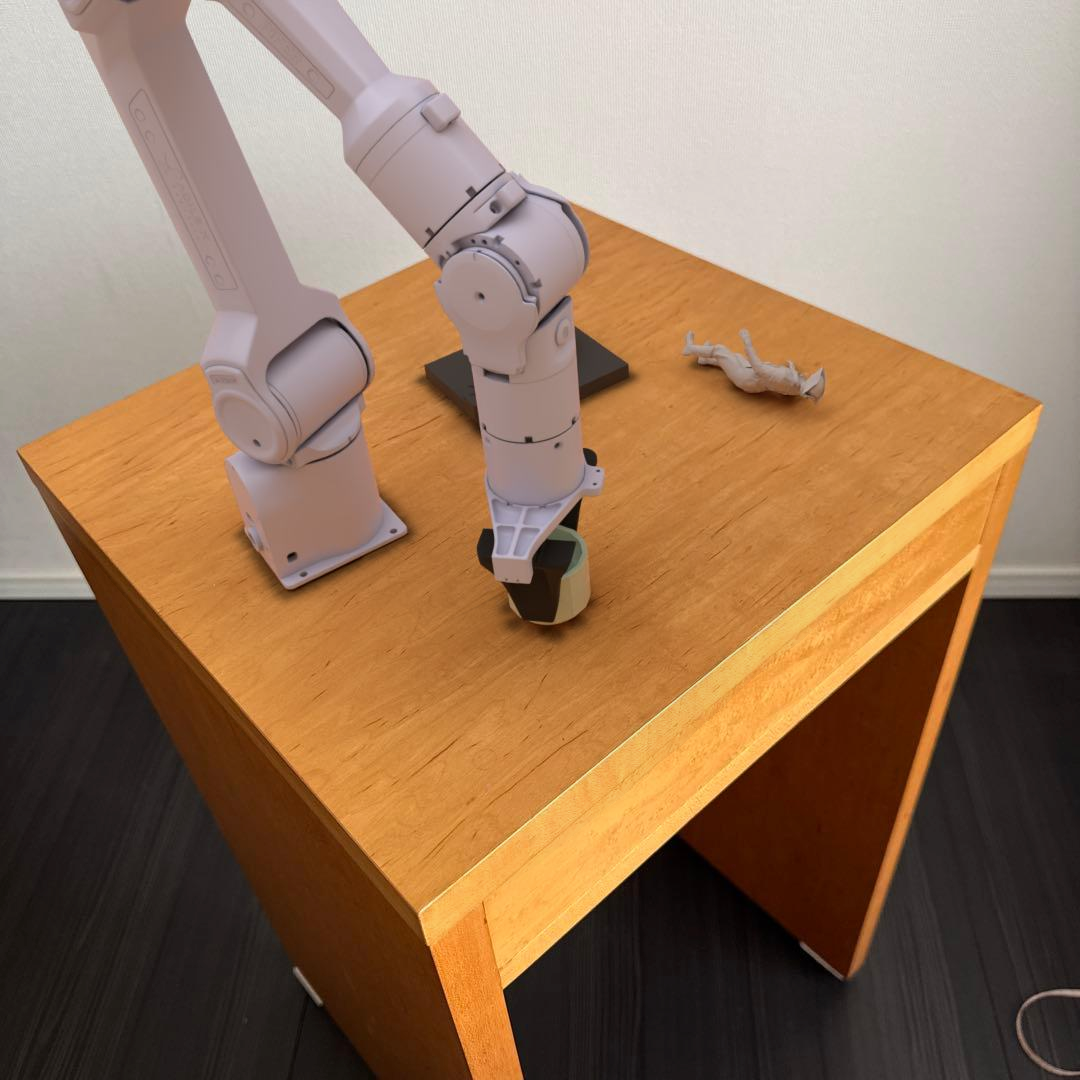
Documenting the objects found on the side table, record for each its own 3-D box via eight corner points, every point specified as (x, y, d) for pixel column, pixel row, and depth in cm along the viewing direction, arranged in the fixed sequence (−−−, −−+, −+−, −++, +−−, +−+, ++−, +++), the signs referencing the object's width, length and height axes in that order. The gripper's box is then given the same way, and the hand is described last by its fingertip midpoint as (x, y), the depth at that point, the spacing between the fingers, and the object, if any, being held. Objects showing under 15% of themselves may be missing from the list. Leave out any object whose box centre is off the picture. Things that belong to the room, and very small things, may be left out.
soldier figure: (727, 353, 95) (856, 355, 87) (715, 409, 95) (843, 416, 86) (674, 322, 89) (806, 321, 81) (661, 381, 89) (792, 386, 81)
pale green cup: (538, 642, 70) (533, 595, 68) (493, 593, 74) (486, 547, 71) (607, 604, 72) (604, 557, 69) (559, 559, 76) (555, 512, 73)
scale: (491, 449, 86) (487, 417, 84) (418, 382, 94) (412, 351, 92) (634, 382, 91) (633, 350, 89) (554, 323, 99) (551, 293, 97)
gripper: (576, 501, 57) (590, 676, 66) (619, 344, 67) (626, 514, 76) (443, 492, 58) (475, 664, 68) (505, 339, 69) (525, 507, 78)
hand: (548, 584), depth 72 cm, fingers closed on pale green cup, 5 cm apart
